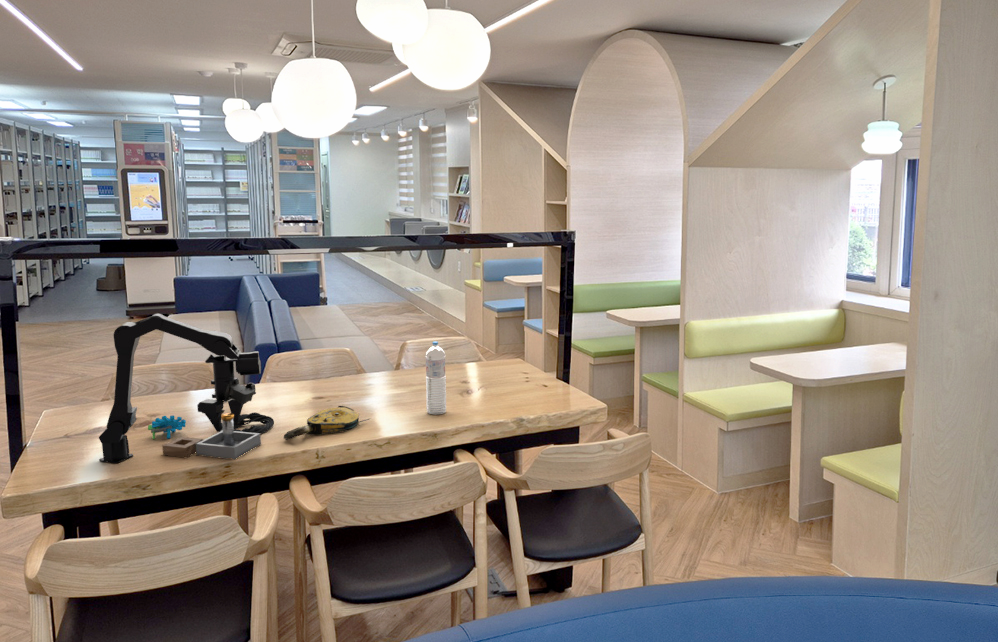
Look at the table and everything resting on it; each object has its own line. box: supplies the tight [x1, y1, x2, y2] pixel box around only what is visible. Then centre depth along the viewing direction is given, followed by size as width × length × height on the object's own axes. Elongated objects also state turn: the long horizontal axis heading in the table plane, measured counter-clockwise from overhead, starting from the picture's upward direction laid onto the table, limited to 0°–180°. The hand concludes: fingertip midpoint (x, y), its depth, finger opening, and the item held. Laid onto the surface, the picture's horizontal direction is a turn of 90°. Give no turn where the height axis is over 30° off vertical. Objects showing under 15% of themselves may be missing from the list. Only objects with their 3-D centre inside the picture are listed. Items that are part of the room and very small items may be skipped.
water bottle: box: [424, 341, 447, 416], centre depth 254 cm, size 7×7×25 cm
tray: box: [195, 430, 262, 460], centre depth 220 cm, size 13×13×4 cm
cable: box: [221, 412, 275, 435], centre depth 238 cm, size 17×14×4 cm
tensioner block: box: [162, 436, 205, 458], centre depth 218 cm, size 8×8×3 cm
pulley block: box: [283, 405, 371, 440], centre depth 238 cm, size 14×6×30 cm
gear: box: [147, 415, 187, 440], centre depth 232 cm, size 11×6×10 cm
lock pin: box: [221, 412, 235, 446], centre depth 219 cm, size 4×4×10 cm
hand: (227, 427), depth 219 cm, fingers open, 8 cm apart
